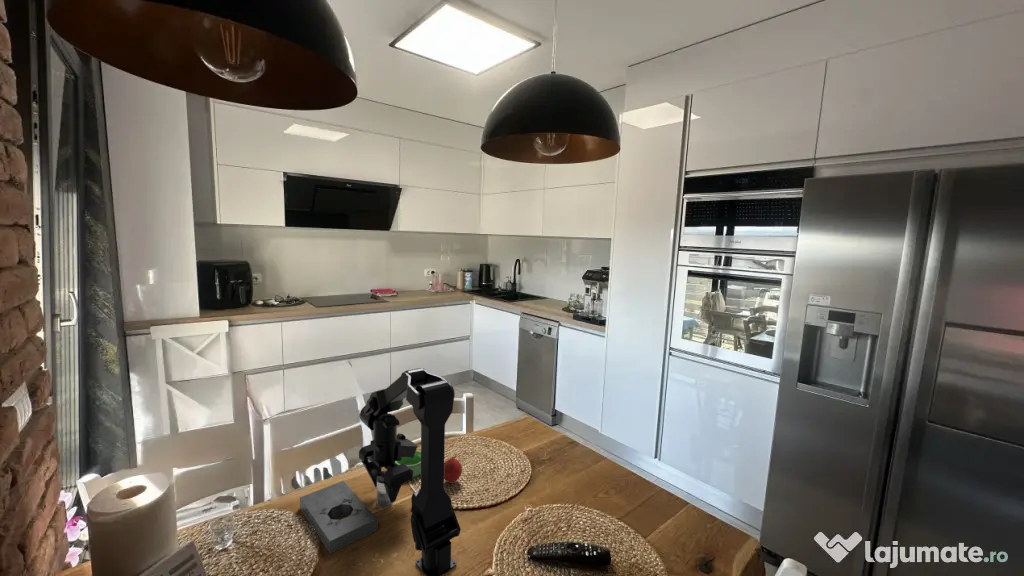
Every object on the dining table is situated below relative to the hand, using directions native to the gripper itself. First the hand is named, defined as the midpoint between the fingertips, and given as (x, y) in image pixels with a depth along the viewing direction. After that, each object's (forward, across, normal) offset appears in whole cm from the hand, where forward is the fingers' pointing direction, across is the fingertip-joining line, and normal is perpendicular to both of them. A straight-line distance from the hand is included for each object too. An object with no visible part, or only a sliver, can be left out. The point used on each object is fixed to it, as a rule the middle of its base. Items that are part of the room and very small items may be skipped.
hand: (384, 493), depth 106 cm
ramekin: (+3, +9, -12) cm, 16 cm away
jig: (+3, +2, +12) cm, 12 cm away
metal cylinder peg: (+3, 0, 0) cm, 3 cm away
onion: (+3, -4, -18) cm, 19 cm away
